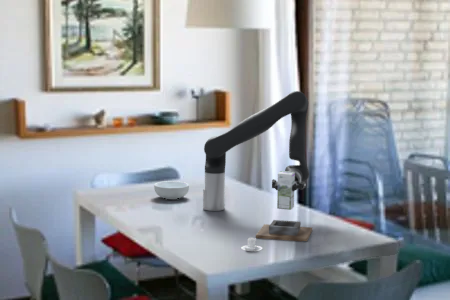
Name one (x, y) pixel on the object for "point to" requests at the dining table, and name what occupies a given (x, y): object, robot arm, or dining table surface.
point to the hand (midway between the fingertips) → (285, 188)
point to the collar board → (284, 231)
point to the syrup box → (285, 190)
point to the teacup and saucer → (251, 245)
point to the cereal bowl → (171, 189)
